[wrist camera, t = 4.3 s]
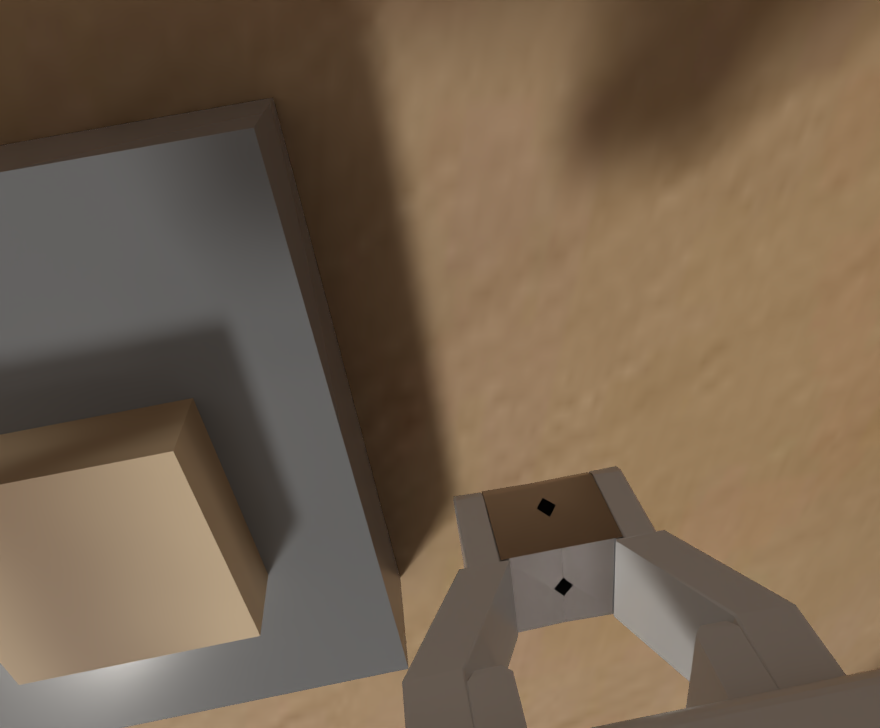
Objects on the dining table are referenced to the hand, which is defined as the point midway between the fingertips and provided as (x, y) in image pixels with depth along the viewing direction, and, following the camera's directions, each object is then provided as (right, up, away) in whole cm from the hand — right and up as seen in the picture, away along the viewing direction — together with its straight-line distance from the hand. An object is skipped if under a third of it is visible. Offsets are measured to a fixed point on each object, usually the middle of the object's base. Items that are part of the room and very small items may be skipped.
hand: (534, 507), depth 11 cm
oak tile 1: (-8, -1, +2) cm, 9 cm away
